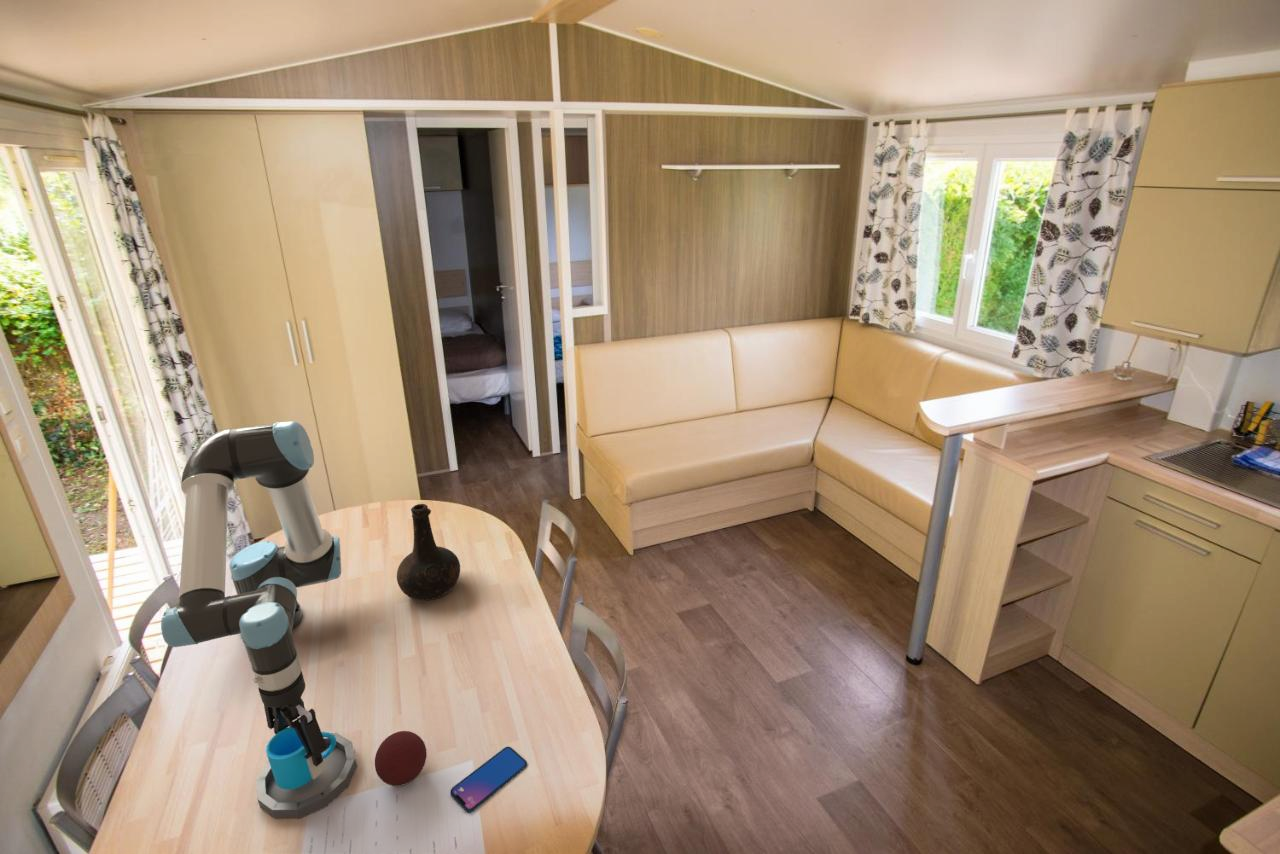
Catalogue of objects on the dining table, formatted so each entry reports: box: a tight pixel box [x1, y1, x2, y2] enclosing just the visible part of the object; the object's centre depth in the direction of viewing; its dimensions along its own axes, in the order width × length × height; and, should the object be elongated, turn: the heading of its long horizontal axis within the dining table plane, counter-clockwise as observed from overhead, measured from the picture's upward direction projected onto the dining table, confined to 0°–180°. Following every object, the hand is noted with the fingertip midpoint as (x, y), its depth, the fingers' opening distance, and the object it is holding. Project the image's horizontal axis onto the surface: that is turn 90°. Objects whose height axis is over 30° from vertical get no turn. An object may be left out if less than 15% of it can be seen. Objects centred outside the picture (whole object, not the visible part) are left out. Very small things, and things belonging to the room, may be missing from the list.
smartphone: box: [449, 746, 528, 814], centre depth 133 cm, size 7×1×15 cm
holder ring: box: [255, 732, 358, 820], centre depth 133 cm, size 18×18×2 cm
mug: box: [265, 727, 336, 790], centre depth 130 cm, size 12×8×8 cm
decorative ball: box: [374, 730, 428, 787], centre depth 132 cm, size 10×10×10 cm
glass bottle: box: [396, 503, 461, 601], centre depth 186 cm, size 18×18×28 cm
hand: (305, 764), depth 132 cm, fingers closed on mug, 8 cm apart
